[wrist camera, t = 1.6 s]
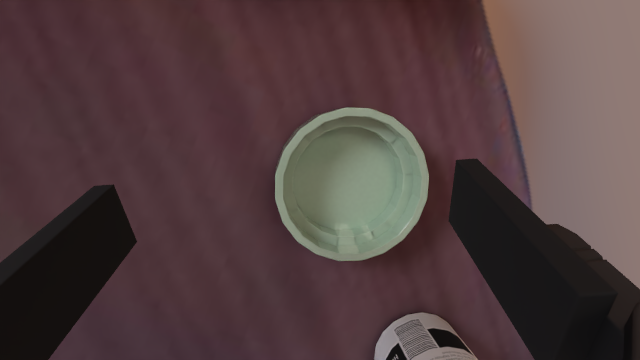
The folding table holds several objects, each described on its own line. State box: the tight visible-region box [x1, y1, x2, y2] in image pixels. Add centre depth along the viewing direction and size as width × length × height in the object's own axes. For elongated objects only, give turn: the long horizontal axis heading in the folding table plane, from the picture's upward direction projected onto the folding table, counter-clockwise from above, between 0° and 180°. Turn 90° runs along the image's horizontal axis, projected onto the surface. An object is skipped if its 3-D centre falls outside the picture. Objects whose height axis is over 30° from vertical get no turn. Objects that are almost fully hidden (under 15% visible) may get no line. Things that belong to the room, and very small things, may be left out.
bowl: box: [275, 107, 429, 261], centre depth 27 cm, size 12×12×4 cm
